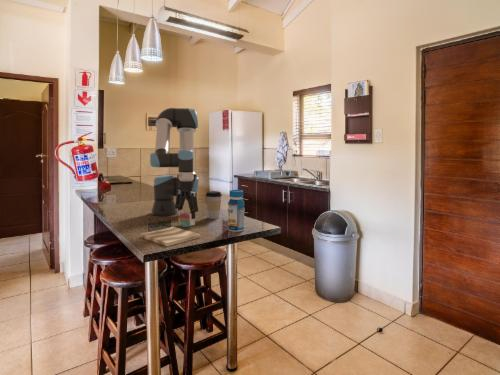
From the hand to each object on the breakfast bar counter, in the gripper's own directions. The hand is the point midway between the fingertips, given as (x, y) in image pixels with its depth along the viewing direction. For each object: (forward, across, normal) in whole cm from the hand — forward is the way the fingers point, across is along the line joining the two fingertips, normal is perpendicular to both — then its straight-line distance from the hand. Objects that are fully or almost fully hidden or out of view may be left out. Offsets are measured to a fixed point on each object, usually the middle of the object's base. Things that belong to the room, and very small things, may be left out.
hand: (186, 223), depth 169 cm
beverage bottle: (+2, +24, +12) cm, 27 cm away
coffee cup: (+2, -4, +23) cm, 23 cm away
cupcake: (+2, 0, 0) cm, 2 cm away
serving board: (+1, +11, -18) cm, 21 cm away
